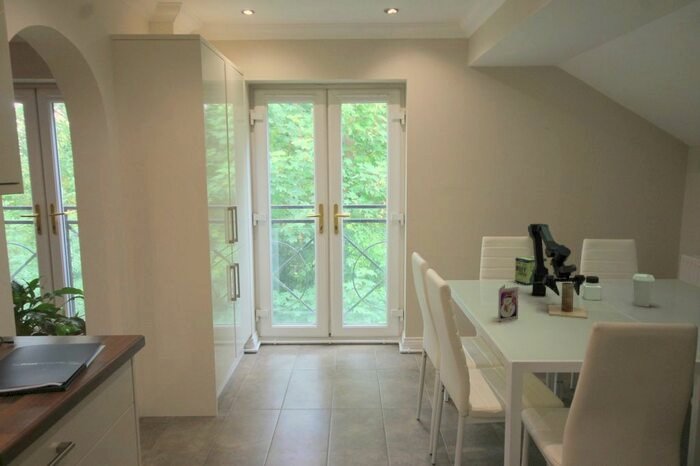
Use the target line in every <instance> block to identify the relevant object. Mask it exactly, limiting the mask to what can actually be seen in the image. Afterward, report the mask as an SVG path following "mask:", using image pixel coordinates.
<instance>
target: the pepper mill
mask: <svg viewBox="0 0 700 466" xmlns="http://www.w3.org/2000/svg"><path fill="white" fill-rule="evenodd" d="M561 283H562V284H561V300H560V301H561V303H560V304H561V305H560V306H561V310H562V311H564V312H572V311H573V307H574V291H575V289H574V284H573V283H572V282H561Z"/></svg>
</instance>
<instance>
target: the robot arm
mask: <svg viewBox="0 0 700 466" xmlns="http://www.w3.org/2000/svg"><path fill="white" fill-rule="evenodd" d="M527 231H528V235H529V237H530V238H531V240H532V246H533V247H532V248H533V256H534V261H535V267H534V269H533V270H532V275H531V277H530V279H529V281H530V283H531V284H533V285H532V291H531V292H532V293H531V295H532V296H539V297H546V294H547V288H549V289H550V290H552V291H553V292H554V293H555V294H556V295H557V296H558V297H559V296H560V295H561V293H560V291H559V289H558V285H557V283H573V284H574V291H575V294H576V295H577V296H580V291H581V290H580V289H581V286H583V284H584V283H585V282H586V276H585V275H584V274H575V275H574V277H571V276H572V273H574V272H577V269H578V267H577V266H576V264H570V265H566V264H565V263H566V262H567V260H568V259H569V257H570V256H571V254H572V251H571V249H570V248H568V247H567V246H565V245H564V244H559V243H557V242H556V241H555V239H554V237H553V235H552V233H551V231H550V228H549V225H548V224H546V223H530V224H529V225H528V226H527ZM543 245H544V246H545V249H544V248H543V247H544V246H543ZM544 254H545V256H546V258H547V259H550V258H551V259H550V263H549V266H552V269H553V274H550V273H549V268H548V267H547V266H546V267H545V266H544V258H545V257H544ZM534 281H535V282H534Z"/></svg>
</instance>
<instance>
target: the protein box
mask: <svg viewBox="0 0 700 466" xmlns="http://www.w3.org/2000/svg"><path fill="white" fill-rule="evenodd" d="M547 259H548V257H544V266H545V267H546V268H547V264H548V263H547ZM514 260H515V264H514V265H515V266H514V267H515V269H514V272H515V273H514V283H516V282H517V284H519V283H520V285H523V284H524V285H523V286H526V285H527V286H533V284H531V283H530V281H529V279H530V277H531V275H532V270H533V269H534V267H535V261H534V255H531V256H530V255H529V256H523V257H515V259H514ZM534 282H535V281H534Z"/></svg>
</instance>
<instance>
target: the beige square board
mask: <svg viewBox="0 0 700 466" xmlns="http://www.w3.org/2000/svg"><path fill="white" fill-rule="evenodd" d="M548 316H553V317H556V316H557V317H566V318H567V317H568V318H576V319H577V318H579V319H588V315H587V312H586V308H585V307H577V306H573V311H572V312H564V311H562V310H561V305H556V304H555V305H554V304H548Z"/></svg>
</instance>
